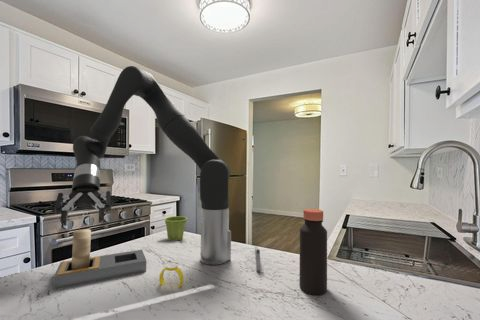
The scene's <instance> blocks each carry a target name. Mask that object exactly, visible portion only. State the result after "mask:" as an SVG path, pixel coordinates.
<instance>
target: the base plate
mask: <svg viewBox="0 0 480 320" xmlns="http://www.w3.org/2000/svg"><path fill="white" fill-rule="evenodd" d="M145 272H147V260H146V255H145V254H144V251H143V249H137V250H131V251H124V252H117V253H111V254H103V255H96V256H92V257H91V256H90V264H89V267H88V268H83V269H77V270H72V259H71V260H66V261H60V263H59V264H58V267H57V269H56V272H55V273H54V275H53V279H52V286H53V287H52V290H53V291H55V290H59V289H64V288H69V287H74V286H80V285H85V284H90V283H94V282H99V281H104V280H110V279H115V278H119V277H125V276H130V275H135V274H140V273H145Z"/></svg>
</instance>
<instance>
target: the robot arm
mask: <svg viewBox="0 0 480 320" xmlns="http://www.w3.org/2000/svg"><path fill="white" fill-rule="evenodd" d="M133 96H136V97H139V98H141V99H142V100H143V101H145V103H146V104H148V105H149V107H150V108H151V109H152V110H153V113H154V115H155V117H156V120H157V123H158V126H159V127H160V130H161V131H162V132H163V133H164V135H166V137H167V138H168V139H169V140H170V141H171V142H172V143H173V145H175V147H177V148H178V149H180V150H181V151H182V152H183V153H184V154H186V155H187V156H188V157H189V158H190V159H191V160H192V161H193V162H194V163H195V164H196V166H197V167H198V169H199V170H200V172H199V199H200V203H201V209H200V211H201V212H200V213H201V214H200V218H201V219H200V220H201V221H200V254H199V255H200V261H201V262H202V263H203V264H205V265H209V266H210V265H211V266H214V265H221V264H225V263H227V262H228V261H231V259H232V258H231V257H232V256H231V255H232V252H231V251H232V231H231V230H230V229H229V227H230V226H229V225H230V224H229V223H230V197H229V180H230V177H231V170H230V168H229V165H228V164H227V163H226V162H225V161H223V160H222V158H220V156H218V155H217V154H216V153H215V152H214V151H213V150H212V149H211V148H210V147H209V145H208V144H207V143H206V141H205V140H204V139H203V137H202V136H201V134H200V133H199V132H198V129H196V128H195V126H194V125H193V124H192V122H191V121H190V120H189V119H188V118H187V117H186V116H185V114H184V113H183V112H182V111H181V110H180V108H178V106H176V104H175V103H174V102H173V101H172V100H171V99H170V98H169V97H168V96H167V94H165V92H164V90H163V89H162V88H161V85H160V84H159V83H158V81H157V80H156V78H154V76H153V75H152V74H151V73H150V72H148V71H146V70H144V69H143V68H142V69H141V68H139V67H138V66H137V67H136V66H134V65H129V66H126V67H125V68H124V69H122V71H121V72H120V74H119V75H118V77H117V80H116V81H115V84H114V85H113V89H112V91H111V93H110V95H109V97H108V100H107V102H106V104H105V106H104V108H103V110H102V111H101V113H100V114H99V116H98V118H97V119H96V120H95V121H94V123H93V124H92V126H91V128H90V130H89V132H90V134H91V135H92V136H93V137H94V138H96V139H94V138H91V137H89V136H86V135H80V136H77V137H76V138H75V139H74V141H73V143H72V152H73V155H74V157H75V162H76V165H75V166H76V167H75V171H74V174H73V179H72V186H71V192H70V193H69V194H64V193H63V192H59V193H57V197H56V200H55V203H54V207H53V208H54V213H55V215H59V214H60V224H61V225H62V226H64V227H65V226H67V225H68V224H67V223H68V219H69V218H68V217H69V213H70V212H71V211H72V212H73V211H74V210H75V209H76V208H79V209H80V208H91V207H93V208H95V209H96V210H97V211H98V223H102V222H103V221H104V220H105V213H106V211H111V210H112V196H111V195H112V194H111V191H109V190H107V191H106V192H101V190H100V188H101V159H103V157H104V156H105V154H106V152H107V148H108V145H109V142H110V140H111V138H112V137H113V135H114V134H115V132H117V129H118V128H119V127H120V125H121V122H122V118H123V112H124V109H125V106H126V105H127V103H128V102H129V100H130V99H131V98H132V97H133ZM101 198H102V199H103V200H104V201H106V203H105V204H104V203H102V201H101ZM67 200H69V201H68V202H67ZM65 202H67V204H65V205H64V206H63V204H64V203H65Z"/></svg>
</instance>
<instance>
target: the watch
mask: <svg viewBox="0 0 480 320" xmlns="http://www.w3.org/2000/svg"><path fill="white" fill-rule="evenodd" d="M165 271H169V272H173V271H175V272H176V273H177V274H178V277H179V284H178V286H177V288H180V287H181V286H182V285H183V283H184V273H183V271H182V269H180V267H178V264H177V263H168V264H166V267H164V268H163V269H162V270H161V272H160V273H159V282H160V283H159V284H160V286H164V285H165V283H166V282H165V280H164V273H165Z"/></svg>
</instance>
